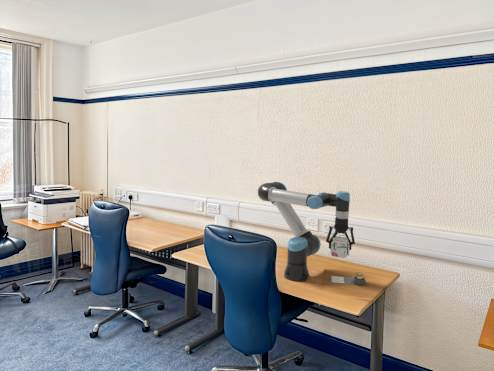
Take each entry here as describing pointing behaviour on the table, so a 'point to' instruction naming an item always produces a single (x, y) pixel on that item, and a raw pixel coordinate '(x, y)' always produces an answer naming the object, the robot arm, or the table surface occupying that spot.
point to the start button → (359, 275)
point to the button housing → (359, 281)
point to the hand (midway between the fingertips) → (339, 254)
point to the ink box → (340, 246)
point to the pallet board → (342, 280)
